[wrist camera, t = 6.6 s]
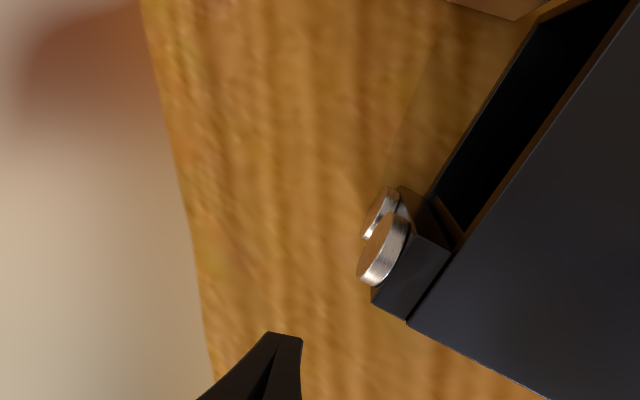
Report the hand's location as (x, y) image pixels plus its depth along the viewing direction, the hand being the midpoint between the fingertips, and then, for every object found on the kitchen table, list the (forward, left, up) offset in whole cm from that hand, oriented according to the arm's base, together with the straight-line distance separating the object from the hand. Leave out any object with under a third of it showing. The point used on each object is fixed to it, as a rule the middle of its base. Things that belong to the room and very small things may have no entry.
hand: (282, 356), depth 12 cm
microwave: (-8, -9, -10) cm, 16 cm away
